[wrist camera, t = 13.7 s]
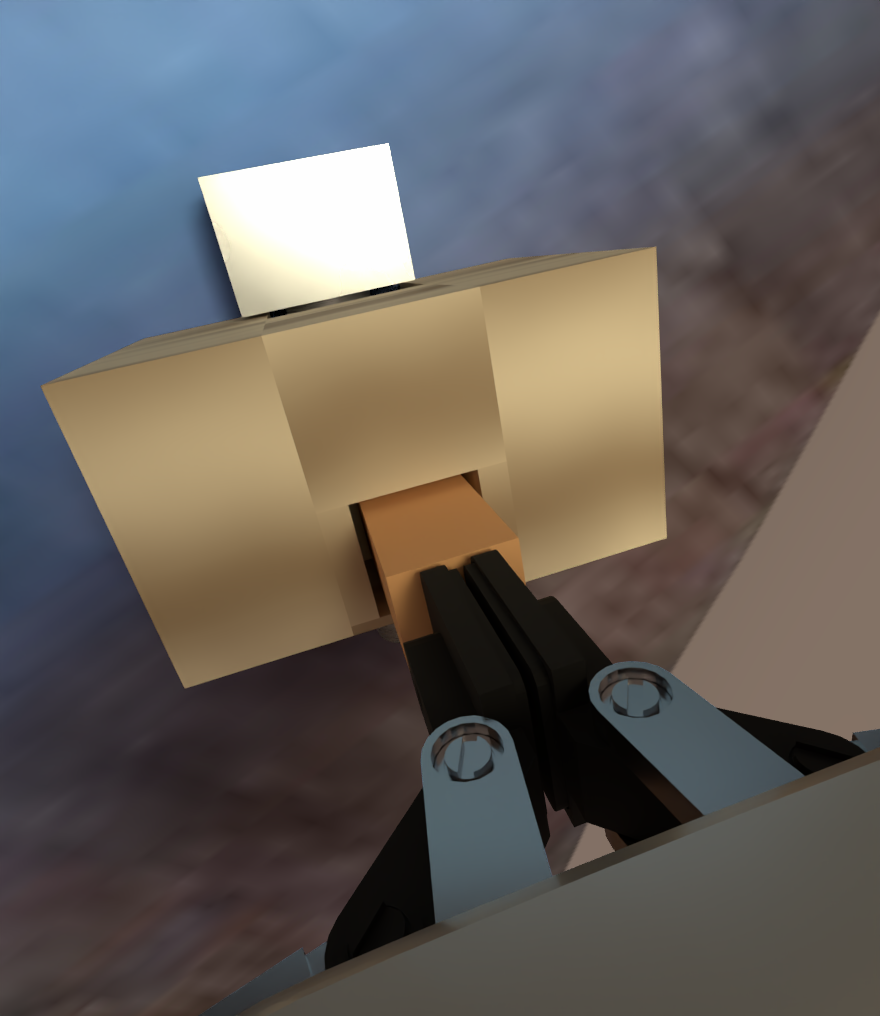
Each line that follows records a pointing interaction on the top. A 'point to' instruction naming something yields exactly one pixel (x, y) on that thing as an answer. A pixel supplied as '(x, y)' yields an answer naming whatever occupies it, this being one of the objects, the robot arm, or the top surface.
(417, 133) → the top surface
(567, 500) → the block
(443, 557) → the plunger
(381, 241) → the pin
